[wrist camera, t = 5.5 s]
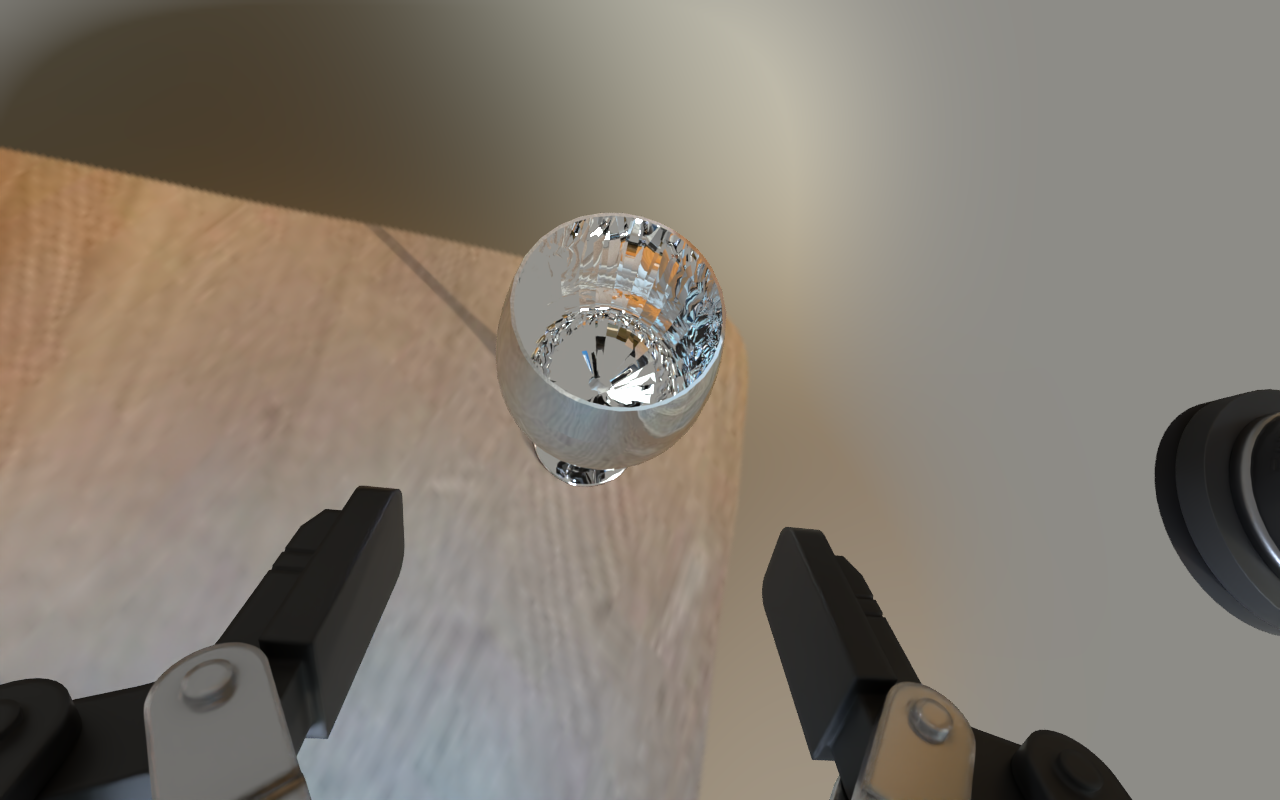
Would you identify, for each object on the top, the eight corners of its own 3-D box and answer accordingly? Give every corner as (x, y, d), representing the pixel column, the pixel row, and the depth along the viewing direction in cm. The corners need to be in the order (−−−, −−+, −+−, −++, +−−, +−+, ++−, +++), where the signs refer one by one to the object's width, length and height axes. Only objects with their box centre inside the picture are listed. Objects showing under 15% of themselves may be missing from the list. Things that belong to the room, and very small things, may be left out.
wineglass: (678, 464, 23) (799, 368, 12) (554, 528, 22) (557, 490, 10) (615, 348, 24) (672, 159, 13) (493, 402, 23) (436, 242, 11)
